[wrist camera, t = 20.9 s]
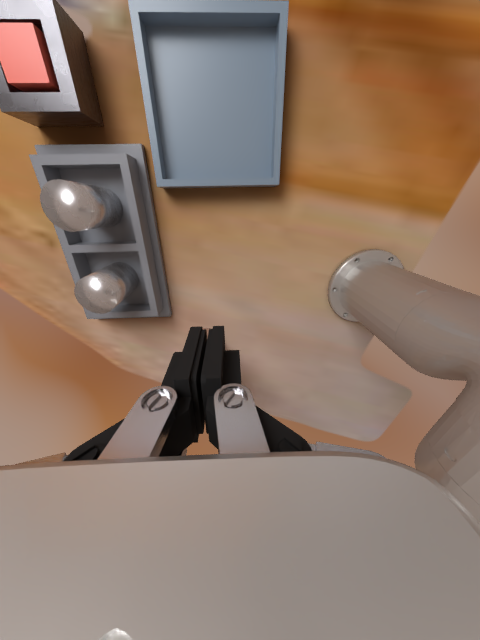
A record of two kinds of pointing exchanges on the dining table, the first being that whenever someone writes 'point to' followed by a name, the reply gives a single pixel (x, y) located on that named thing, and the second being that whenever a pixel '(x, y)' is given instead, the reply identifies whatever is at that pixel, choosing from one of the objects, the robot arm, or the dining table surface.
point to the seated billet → (106, 287)
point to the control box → (69, 65)
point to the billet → (80, 205)
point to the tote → (212, 89)
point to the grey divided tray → (121, 239)
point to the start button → (26, 58)
